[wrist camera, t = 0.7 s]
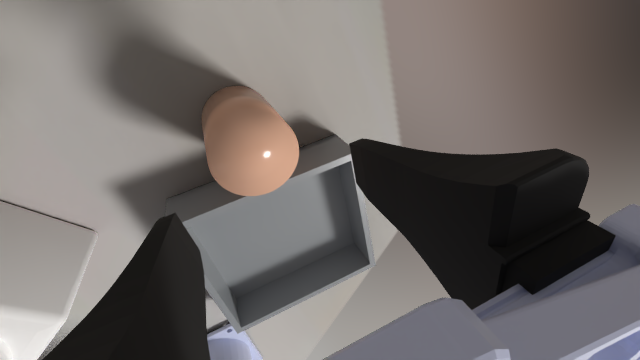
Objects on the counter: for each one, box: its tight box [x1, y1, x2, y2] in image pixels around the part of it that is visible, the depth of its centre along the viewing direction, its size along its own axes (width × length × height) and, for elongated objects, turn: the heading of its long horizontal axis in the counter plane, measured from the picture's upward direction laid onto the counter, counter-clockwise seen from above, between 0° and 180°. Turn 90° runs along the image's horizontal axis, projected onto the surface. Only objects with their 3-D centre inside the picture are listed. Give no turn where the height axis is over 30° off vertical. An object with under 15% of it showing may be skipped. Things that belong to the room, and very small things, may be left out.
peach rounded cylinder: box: [201, 86, 299, 196], centre depth 17 cm, size 5×5×6 cm
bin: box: [165, 134, 375, 334], centre depth 24 cm, size 13×12×4 cm
